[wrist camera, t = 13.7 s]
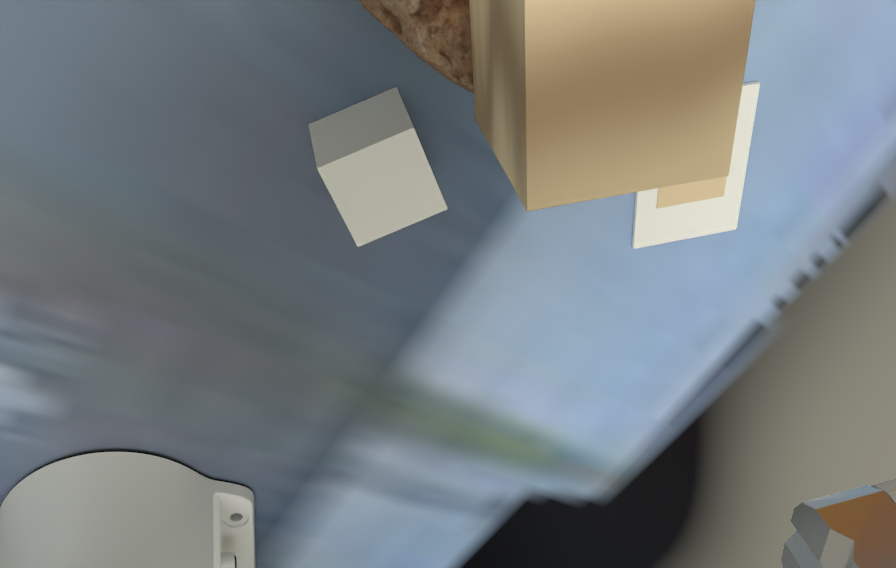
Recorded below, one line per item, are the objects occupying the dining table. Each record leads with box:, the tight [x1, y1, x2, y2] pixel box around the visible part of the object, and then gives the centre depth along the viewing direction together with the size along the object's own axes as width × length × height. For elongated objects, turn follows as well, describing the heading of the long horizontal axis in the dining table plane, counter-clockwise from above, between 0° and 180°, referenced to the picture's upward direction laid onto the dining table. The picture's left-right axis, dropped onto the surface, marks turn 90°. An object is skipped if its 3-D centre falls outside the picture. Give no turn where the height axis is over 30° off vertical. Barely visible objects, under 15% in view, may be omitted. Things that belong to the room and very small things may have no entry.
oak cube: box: [469, 0, 755, 211], centre depth 20 cm, size 5×5×5 cm
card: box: [632, 81, 760, 249], centre depth 50 cm, size 10×7×1 cm
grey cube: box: [308, 87, 448, 247], centre depth 43 cm, size 5×5×5 cm
